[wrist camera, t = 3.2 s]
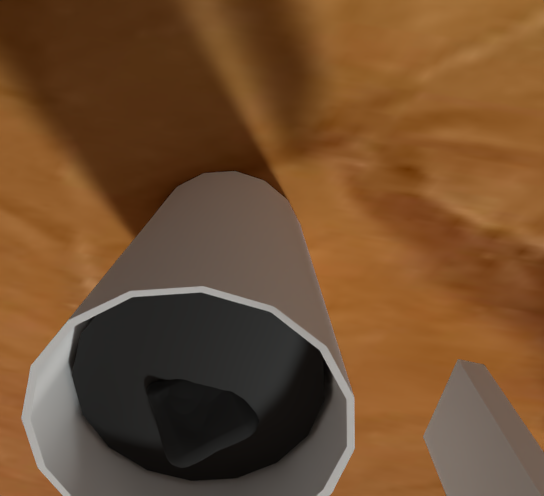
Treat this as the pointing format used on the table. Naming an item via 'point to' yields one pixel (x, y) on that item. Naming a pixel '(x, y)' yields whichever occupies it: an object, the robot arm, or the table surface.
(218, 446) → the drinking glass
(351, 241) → the table surface
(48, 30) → the table surface
